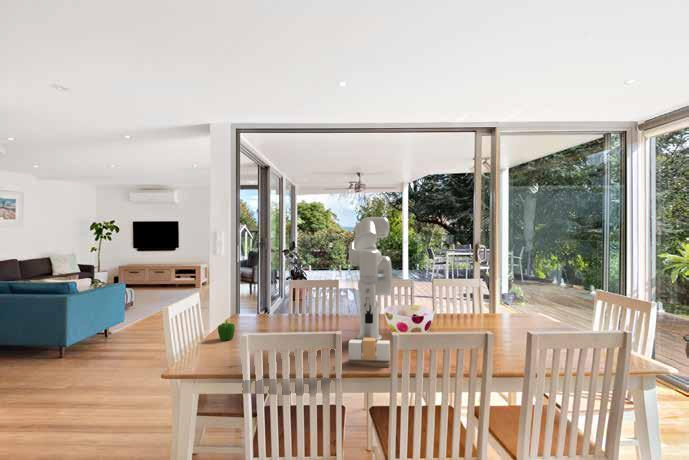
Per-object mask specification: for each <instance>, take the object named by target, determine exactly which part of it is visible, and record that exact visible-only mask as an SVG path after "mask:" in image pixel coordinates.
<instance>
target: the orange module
mask: <svg viewBox="0 0 689 460" xmlns="http://www.w3.org/2000/svg"><path fill="white" fill-rule="evenodd" d="M362 356H363V360H375V357H376V356H377V344H376V341H375V338H363V352H362Z"/></svg>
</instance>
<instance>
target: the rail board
mask: <svg viewBox="0 0 689 460" xmlns="http://www.w3.org/2000/svg"><path fill="white" fill-rule="evenodd" d="M390 347H391V345H390V340H382V339H380V340H377V341H376V357H375V360H363V352H362V340H354V339H352V340H350V339H349V341H348V362H347V366H348V367H369V368H370V367H373V368H376V367H377V368H390V365H391V349H390Z"/></svg>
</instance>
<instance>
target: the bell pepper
mask: <svg viewBox="0 0 689 460" xmlns="http://www.w3.org/2000/svg"><path fill="white" fill-rule="evenodd" d="M228 321H229V319H225V323H221V324H219V325H218V326H217V332H218V336H219V339H220V341H223V340H224V341H231V340H233V338H234V336H235V331H236V330H235V329H236V328H235V327H236V326H235V324H234V323H230V322H228Z"/></svg>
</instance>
